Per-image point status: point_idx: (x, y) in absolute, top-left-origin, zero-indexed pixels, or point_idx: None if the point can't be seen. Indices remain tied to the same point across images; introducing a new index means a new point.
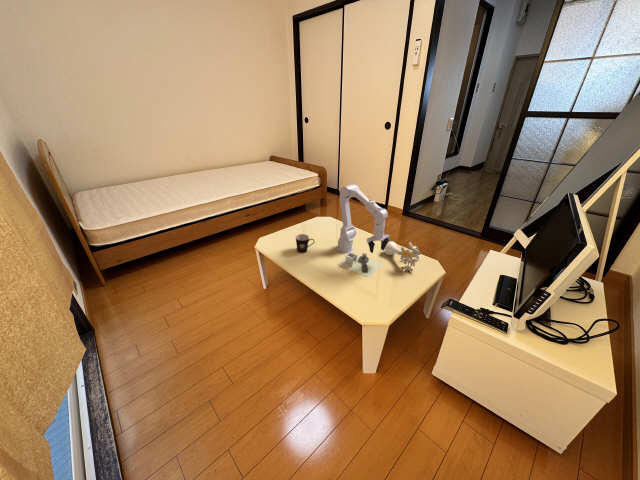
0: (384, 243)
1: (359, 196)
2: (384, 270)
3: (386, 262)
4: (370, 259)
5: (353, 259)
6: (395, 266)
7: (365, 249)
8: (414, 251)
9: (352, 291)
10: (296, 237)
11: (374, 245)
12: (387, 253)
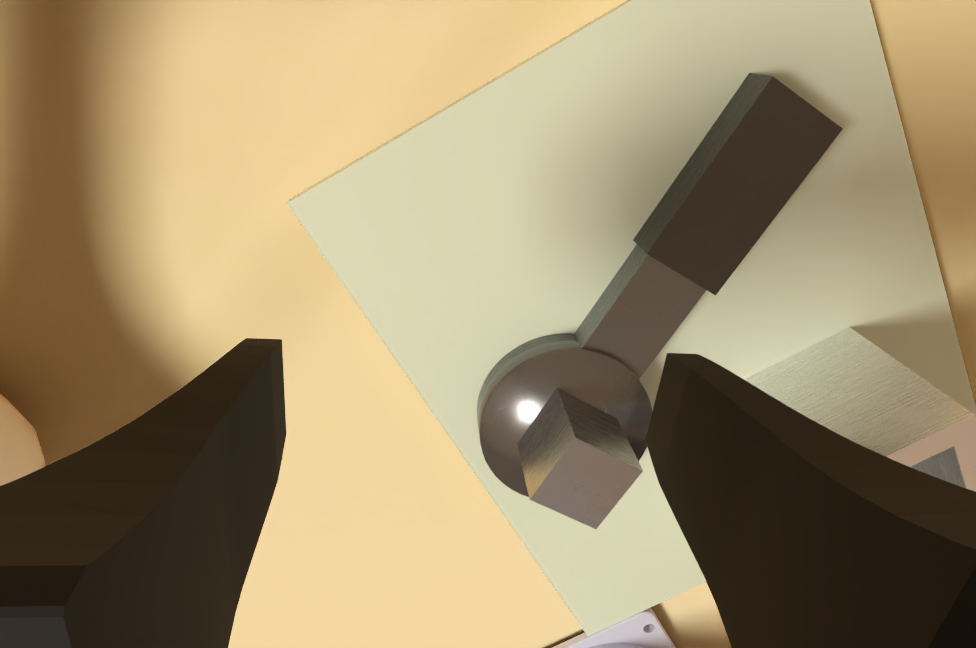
0: (181, 529)
1: None
2: (374, 5)
3: (169, 223)
4: (426, 395)
5: (937, 406)
6: (46, 23)
7: (319, 640)
8: None
9: None
10: None
11: (890, 509)
12: (13, 414)
